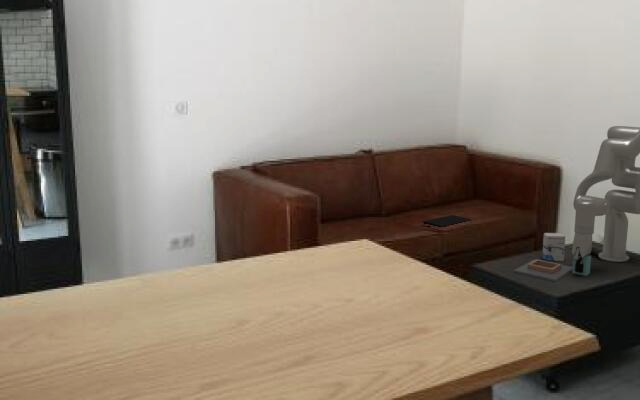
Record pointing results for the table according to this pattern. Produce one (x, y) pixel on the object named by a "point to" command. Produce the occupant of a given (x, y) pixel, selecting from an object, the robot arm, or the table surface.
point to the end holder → (544, 270)
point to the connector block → (585, 267)
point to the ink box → (553, 247)
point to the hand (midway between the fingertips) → (581, 270)
